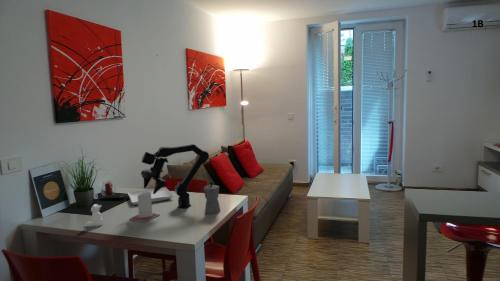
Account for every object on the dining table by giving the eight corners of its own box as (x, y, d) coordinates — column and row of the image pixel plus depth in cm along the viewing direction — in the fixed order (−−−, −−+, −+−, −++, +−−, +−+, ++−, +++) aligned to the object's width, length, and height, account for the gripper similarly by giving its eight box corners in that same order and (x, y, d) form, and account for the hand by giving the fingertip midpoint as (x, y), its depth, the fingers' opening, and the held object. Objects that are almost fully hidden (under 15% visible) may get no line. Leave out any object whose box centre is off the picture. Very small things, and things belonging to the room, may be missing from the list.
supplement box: (152, 216, 200) (150, 194, 199) (139, 218, 198) (137, 196, 197) (152, 212, 207) (150, 191, 206) (139, 214, 205) (137, 193, 204)
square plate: (127, 197, 250) (127, 192, 249) (165, 191, 261) (165, 186, 260) (131, 207, 225) (131, 201, 225) (174, 200, 237) (173, 195, 236)
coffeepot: (222, 214, 203) (220, 184, 201) (206, 216, 201) (204, 185, 199) (218, 206, 218) (217, 178, 216) (203, 208, 216) (201, 179, 214)
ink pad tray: (159, 215, 205) (159, 213, 205) (145, 222, 195) (145, 220, 195) (143, 213, 211) (143, 211, 210) (129, 220, 200) (129, 217, 200)
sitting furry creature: (99, 221, 201) (97, 200, 199) (109, 223, 196) (107, 202, 195) (84, 226, 193) (82, 205, 191) (94, 228, 188) (92, 207, 187)
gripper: (138, 160, 211) (129, 184, 211) (157, 171, 200) (148, 196, 201) (152, 162, 220) (143, 185, 220) (171, 173, 210) (162, 197, 210)
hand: (149, 191), depth 213 cm, fingers open, 9 cm apart
